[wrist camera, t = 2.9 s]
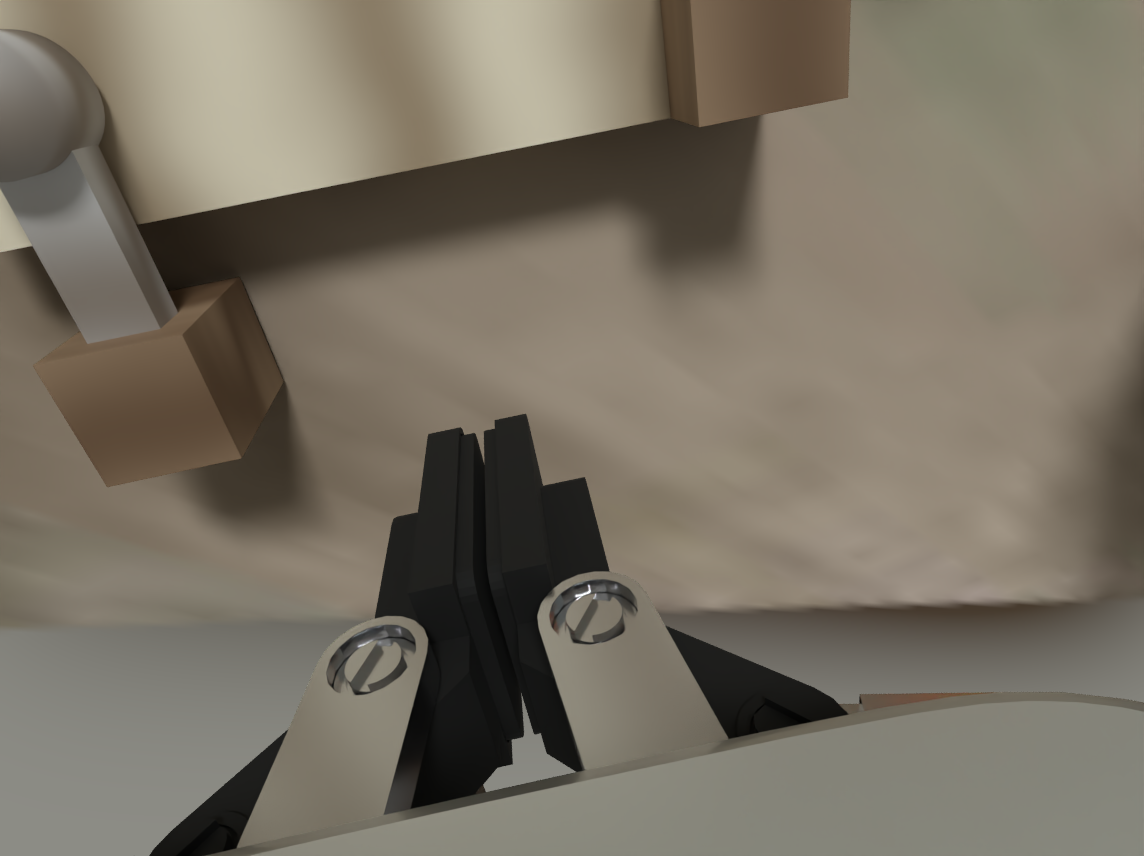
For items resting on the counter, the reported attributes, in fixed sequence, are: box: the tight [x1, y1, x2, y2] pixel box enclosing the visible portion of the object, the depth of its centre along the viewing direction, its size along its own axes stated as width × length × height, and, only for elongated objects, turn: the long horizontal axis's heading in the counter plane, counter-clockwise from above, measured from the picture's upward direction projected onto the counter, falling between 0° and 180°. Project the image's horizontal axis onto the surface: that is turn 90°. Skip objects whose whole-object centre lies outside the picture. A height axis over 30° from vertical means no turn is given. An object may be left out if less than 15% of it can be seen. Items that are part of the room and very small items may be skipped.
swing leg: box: [0, 29, 284, 487], centre depth 18 cm, size 10×4×5 cm, turn 10°
